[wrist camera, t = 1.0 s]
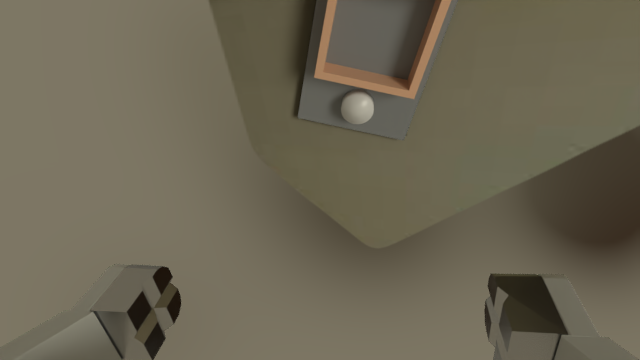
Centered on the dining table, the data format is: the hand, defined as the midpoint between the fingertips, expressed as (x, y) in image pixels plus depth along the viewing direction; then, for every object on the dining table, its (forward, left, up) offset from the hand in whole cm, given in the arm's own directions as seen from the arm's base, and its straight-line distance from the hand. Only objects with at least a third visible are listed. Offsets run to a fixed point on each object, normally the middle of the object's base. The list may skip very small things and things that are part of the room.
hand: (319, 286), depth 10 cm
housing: (+7, +3, -34) cm, 35 cm away
